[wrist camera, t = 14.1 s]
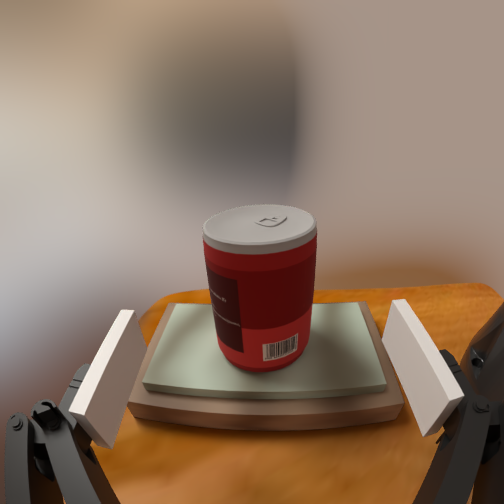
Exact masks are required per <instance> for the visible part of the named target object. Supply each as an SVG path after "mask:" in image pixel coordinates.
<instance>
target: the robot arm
mask: <svg viewBox="0 0 504 504" xmlns="http://www.w3.org/2000/svg"><path fill="white" fill-rule="evenodd" d="M382 342H383V344H384V347H385V349H386V351H387V353H388V355H389V357H390V359H391V362H392V364H393V366H394V368H395V371H396V373H397V375H398V377H399V380H400V382H401V384H402V386H403V389H404V391H405V394H406V396H407V398H408V401H409V403H410V405H411V408H412V410H413V413H414V415H415V418H416V420H417V423H418V425H419V428H420V431H421V433H422V436H423V437H425V436H428V435H431V434H434V433H437V432H438V431H439V429H440V428H441V427H442V426H443V427H444V429H445V431H444V433H443V434H442V435H441V436H440V437H439V439H438V440H437V441H436V444H438V442H439V441H440V443H439V446H438V448H437V451H436V453H435V456H434V458H433V461H432V463H431V466H430V468H429V470H428V473H427V475H426V477H425V479H424V481H423V483H422V486H421V488H420V490H419V492H418V494H417V496H416V498H415V500H414V502H413V503H412V504H466V503H467V501H468V498H469V495H470V493H471V490H472V487H473V484H474V488H473V496H472V502H471V504H504V302H503V304H502V305H501V306H500V307H499V308H498V310H497V311H496V312H495V313H494V314H493V316H492V317H491V318H490V319H489V320H488V321H487V323H486V324H485V325H484V326H483V327H482V328H481V329H480V330H479V331H478V332H477V334H476V335H475V336H474V337H473V339H472V340H471V342H470V344H469V346H468V348H467V350H466V352H465V354H464V356H463V358H462V360H461V363H460V366H459V365H458V363H457V361H456V360H455V358H454V356H453V355H452V354H450V353H449V352H448V351H447V350H446V349H444V350H440V351H438V349H437V347H436V346H435V344H434V342H433V341H432V339H431V338H430V336H429V335H428V333H427V331H426V330H425V328H424V327H423V325H422V324H421V322H420V321H419V319H418V318H417V316H416V315H415V313H414V312H413V310H412V309H411V307H410V306H409V304H408V303H407V302H406V300H405V299H401V300H392V304H391V308H390V312H389V315H388V319H387V323H386V326H385V330H384V333H383V337H382ZM146 352H147V347H146V344H145V341H144V338H143V335H142V332H141V329H140V326H139V323H138V320H137V317H136V314H135V311H134V310H121V312H120V313H119V315H118V317H117V318H116V320H115V322H114V324H113V325H112V327H111V329H110V331H109V333H108V334H107V336H106V338H105V340H104V342H103V343H102V345H101V347H100V349H99V351H98V353H97V354H96V357H95V358H94V360H93V362H92V364H84V365H82V366H81V367H80V368H79V369H78V370H77V372H76V373H75V375H74V377H73V381H71V383H70V385H69V387H68V389H67V391H66V393H65V395H64V397H63V399H62V401H61V403H60V405H59V407H57V406H56V405H55V403H54V402H53V401H51V400H48V399H44V400H40V401H39V402H37V403H36V404H35V405H34V406H33V408H32V411H31V417H32V418H33V419H34V420H29V419H28V418H27V416H26V415H25V414H23V413H15V414H13V415H12V416H10V418H9V420H8V422H7V427H6V440H5V496H6V504H64V502H63V497H64V500H65V502H66V504H120V502H119V500H118V498H117V497H116V495H115V493H114V491H113V489H112V488H111V486H110V484H109V482H108V480H107V478H106V476H105V474H104V472H103V470H102V468H101V466H100V464H99V462H98V460H97V457H96V455H95V453H94V451H93V449H92V447H91V446H90V444H91V441H92V440H93V441H94V442H95V443H96V444H97V445H98V446H101V447H105V448H109V449H113V446H114V442H115V439H116V436H117V433H118V430H119V427H120V424H121V421H122V418H123V415H124V412H125V409H126V406H127V403H128V400H129V398H130V395H131V392H132V389H133V386H134V384H135V381H136V378H137V375H138V373H139V370H140V367H141V365H142V362H143V359H144V357H145V354H146ZM62 495H63V496H62Z"/></svg>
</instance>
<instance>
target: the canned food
mask: <svg viewBox="0 0 504 504" xmlns="http://www.w3.org/2000/svg"><path fill="white" fill-rule="evenodd" d="M203 243H204V255H205V262H206V269H207V276H208V283H209V290H210V297H211V303H212V309H213V316H214V322H215V328H216V334H217V340H218V344H219V348H220V350H221V351H222V353H223V354H224V356H225V357H226V359H227V360H228V361H229V362H230V363H231V364H233V365H234V366H236V367H238V368H240V369H243V370H246V371H251V372H271V371H276V370H279V369H282V368H285V367H287V366H289V365H291V364H292V363H293V362H295V361H296V360H297V359H298V358H299V357H300V356H301V355H302V353H303V351H304V349H305V347H306V346H307V344H308V341H309V336H310V327H311V316H312V305H313V293H314V280H315V266H316V248H317V228H316V219H315V218H314V216H312V215H311V214H310V213H308V212H306V211H304V210H301V209H298V208H295V207H290V206H285V205H272V204H266V205H265V204H262V205H249V206H243V207H237V208H233V209H229V210H226V211H223V212H221V213H218V214H216V215H214V216H212V217H211V218H209V219H208V220H207V221H206V222H205V223H204V225H203Z"/></svg>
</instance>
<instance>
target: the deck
mask: <svg viewBox="0 0 504 504" xmlns="http://www.w3.org/2000/svg"><path fill="white" fill-rule="evenodd" d="M404 403H405V402H404V399H403V396H402V393H401V391H400V388H399V385H398V382H397V379H396V376H395V374H394V371H393V368H392V365H391V363H390V360H389V357H388V355H387V352H386V349H385V347H384V344H383V342H382V339H381V337H380V334H379V332H378V329H377V327H376V324H375V322H374V320H373V317H372V315H371V312H370V310H369V308H368V305H367V303H366V301H363V302H342V303H313V305H312V316H311V327H310V336H309V341H308V344H307V346H306V347H305V349H304V351H303V353H302V355H301V356H300V357H299V358H298V359H297V360H296V361H295V362H293V363H292V364H291V365H289V366H287V367H285V368H282V369H279V370H276V371H271V372H251V371H246V370H243V369H240V368H238V367H236V366H234V365H233V364H231V363H230V362H229V361H228V360H227V359H226V357H225V356H224V354H223V353H222V351H221V350H220V348H219V344H218V340H217V334H216V328H215V322H214V316H213V309H212V304H190V303H169V304H168V306H167V308H166V310H165V312H164V314H163V316H162V318H161V320H160V323H159V325H158V327H157V329H156V331H155V333H154V335H153V337H152V339H151V341H150V343H149V346H148V348H147V352H146V354H145V357H144V359H143V362H142V365H141V367H140V370H139V373H138V375H137V378H136V381H135V384H134V386H133V389H132V392H131V395H130V398H129V400H128V403H127V407H128V408H129V410H130V411H131V413H132V415H133V416H134V417H138V418H143V419H148V420H154V421H160V422H166V423H173V424H180V425H188V426H196V427H206V428H218V429H232V430H258V431H287V430H313V429H327V428H338V427H348V426H357V425H364V424H371V423H378V422H384V421H390V420H395V419H396V417H397V416H398V414H399V412H400V410H401V409H402V407H403V405H404Z"/></svg>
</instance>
